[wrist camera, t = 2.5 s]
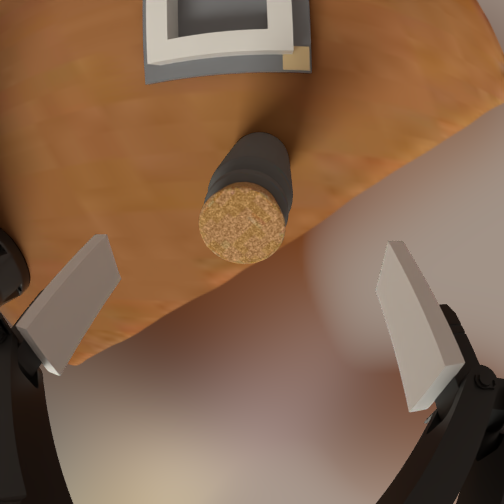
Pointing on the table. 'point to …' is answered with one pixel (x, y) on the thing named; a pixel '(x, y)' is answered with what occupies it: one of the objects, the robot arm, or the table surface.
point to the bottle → (248, 200)
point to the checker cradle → (224, 37)
